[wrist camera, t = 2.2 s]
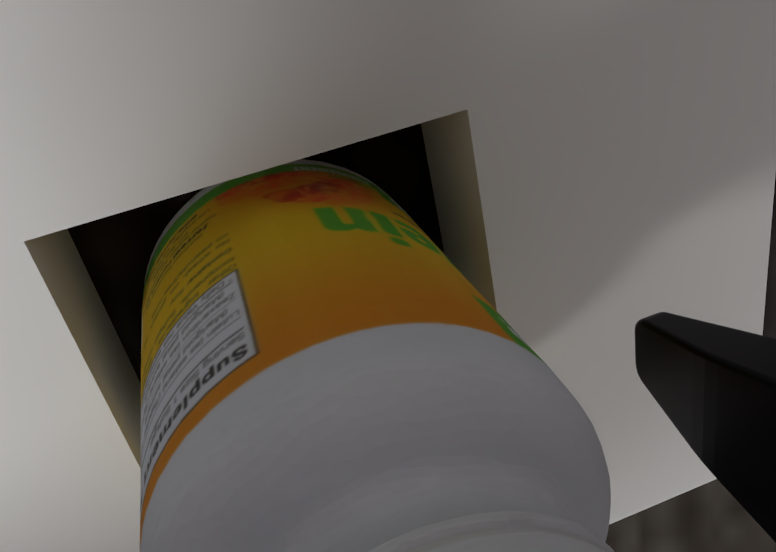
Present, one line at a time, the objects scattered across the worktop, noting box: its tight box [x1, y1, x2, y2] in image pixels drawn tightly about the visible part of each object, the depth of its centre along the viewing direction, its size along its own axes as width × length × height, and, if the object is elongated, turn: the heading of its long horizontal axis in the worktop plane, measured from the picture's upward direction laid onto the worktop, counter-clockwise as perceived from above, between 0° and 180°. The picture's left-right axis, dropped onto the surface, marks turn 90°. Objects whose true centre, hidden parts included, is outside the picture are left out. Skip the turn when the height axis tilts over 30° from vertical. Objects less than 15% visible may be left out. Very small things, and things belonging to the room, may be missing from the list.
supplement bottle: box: [139, 159, 614, 552], centre depth 10 cm, size 5×5×10 cm
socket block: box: [0, 0, 776, 552], centre depth 13 cm, size 18×14×2 cm
